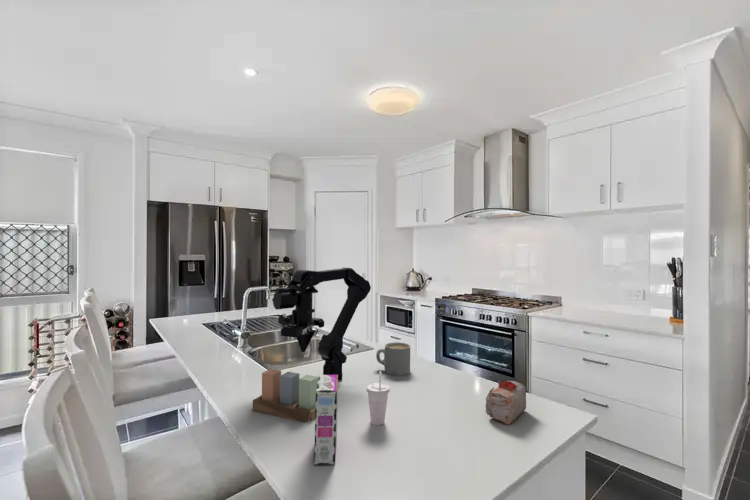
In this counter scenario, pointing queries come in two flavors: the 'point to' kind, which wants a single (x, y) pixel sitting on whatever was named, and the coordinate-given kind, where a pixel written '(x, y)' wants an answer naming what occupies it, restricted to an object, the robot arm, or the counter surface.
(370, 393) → the smoothie
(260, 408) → the wooden slotted rack
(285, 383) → the grey tall block
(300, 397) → the sage key
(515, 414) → the food item
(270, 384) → the pink rectangular block
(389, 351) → the coffee mug
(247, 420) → the counter surface
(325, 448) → the candy bar box
